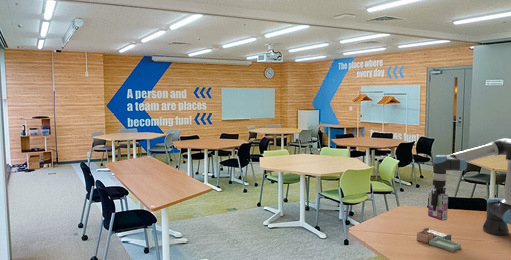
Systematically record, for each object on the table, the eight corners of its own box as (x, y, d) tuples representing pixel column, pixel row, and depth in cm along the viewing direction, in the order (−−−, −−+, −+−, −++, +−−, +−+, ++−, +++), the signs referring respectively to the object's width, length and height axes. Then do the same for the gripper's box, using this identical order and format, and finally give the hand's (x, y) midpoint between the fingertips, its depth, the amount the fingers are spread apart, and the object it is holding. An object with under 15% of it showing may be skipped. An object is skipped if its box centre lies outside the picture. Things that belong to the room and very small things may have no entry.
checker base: (427, 233, 262) (427, 226, 261) (451, 240, 249) (451, 233, 249) (422, 235, 258) (422, 228, 257) (446, 242, 245) (446, 235, 245)
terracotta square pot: (422, 237, 254) (422, 230, 253) (433, 241, 248) (433, 233, 248) (416, 240, 249) (417, 232, 249) (427, 243, 244) (427, 235, 243)
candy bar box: (447, 219, 248) (448, 194, 246) (441, 221, 246) (443, 195, 244) (433, 214, 258) (434, 190, 257) (427, 215, 256) (428, 191, 255)
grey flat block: (430, 231, 260) (430, 229, 260) (447, 236, 250) (447, 234, 250) (425, 233, 256) (425, 231, 256) (443, 238, 247) (443, 236, 247)
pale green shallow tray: (437, 240, 249) (437, 236, 249) (460, 247, 237) (460, 243, 237) (428, 244, 243) (429, 240, 242) (452, 251, 231) (452, 247, 231)
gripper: (441, 176, 258) (439, 210, 261) (425, 180, 247) (424, 216, 249) (452, 178, 252) (450, 213, 255) (437, 182, 241) (435, 219, 243)
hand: (437, 214), depth 252 cm, fingers closed on candy bar box, 6 cm apart
